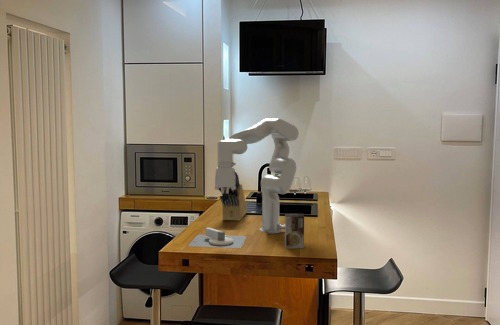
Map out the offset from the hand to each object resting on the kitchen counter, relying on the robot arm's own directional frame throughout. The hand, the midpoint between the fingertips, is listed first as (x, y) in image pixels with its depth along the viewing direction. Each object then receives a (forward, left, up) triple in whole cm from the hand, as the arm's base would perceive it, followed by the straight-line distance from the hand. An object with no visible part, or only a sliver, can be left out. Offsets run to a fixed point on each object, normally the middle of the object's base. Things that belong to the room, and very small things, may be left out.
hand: (225, 200), depth 257 cm
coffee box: (-35, +4, -21) cm, 41 cm away
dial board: (+3, +4, -21) cm, 22 cm away
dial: (+3, +5, -20) cm, 20 cm away
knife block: (+4, -59, -21) cm, 63 cm away
